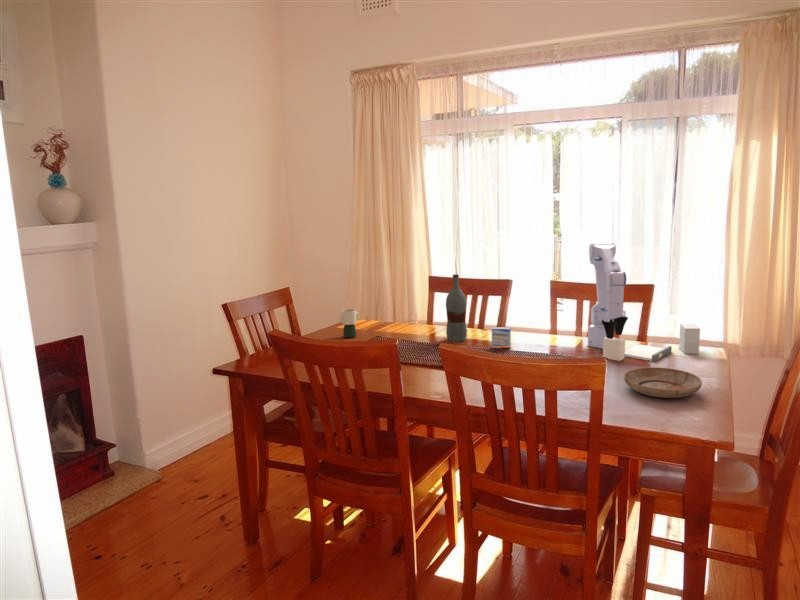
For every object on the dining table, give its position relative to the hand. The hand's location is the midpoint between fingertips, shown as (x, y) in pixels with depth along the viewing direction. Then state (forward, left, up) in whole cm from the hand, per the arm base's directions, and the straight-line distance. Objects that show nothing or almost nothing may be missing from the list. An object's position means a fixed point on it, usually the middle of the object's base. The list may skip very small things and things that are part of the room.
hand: (614, 336), depth 236 cm
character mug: (-111, -41, -9) cm, 119 cm away
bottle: (-67, -15, -9) cm, 69 cm away
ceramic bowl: (+29, -26, -9) cm, 40 cm away
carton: (0, 0, -9) cm, 9 cm away
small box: (+19, +27, -9) cm, 34 cm away
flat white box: (+7, +14, -9) cm, 18 cm away
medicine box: (-44, -13, -9) cm, 47 cm away
